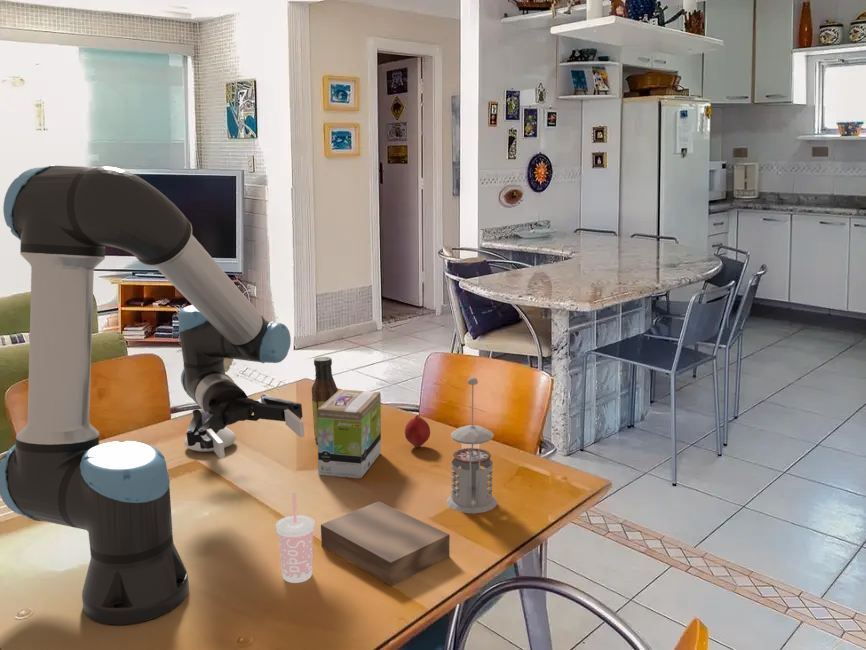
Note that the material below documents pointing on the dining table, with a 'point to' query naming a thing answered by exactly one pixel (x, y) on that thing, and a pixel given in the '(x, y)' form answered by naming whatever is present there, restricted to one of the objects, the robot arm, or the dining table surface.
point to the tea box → (349, 433)
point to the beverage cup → (296, 545)
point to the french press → (471, 469)
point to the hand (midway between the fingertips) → (262, 439)
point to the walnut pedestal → (385, 542)
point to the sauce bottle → (322, 387)
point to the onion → (417, 431)
